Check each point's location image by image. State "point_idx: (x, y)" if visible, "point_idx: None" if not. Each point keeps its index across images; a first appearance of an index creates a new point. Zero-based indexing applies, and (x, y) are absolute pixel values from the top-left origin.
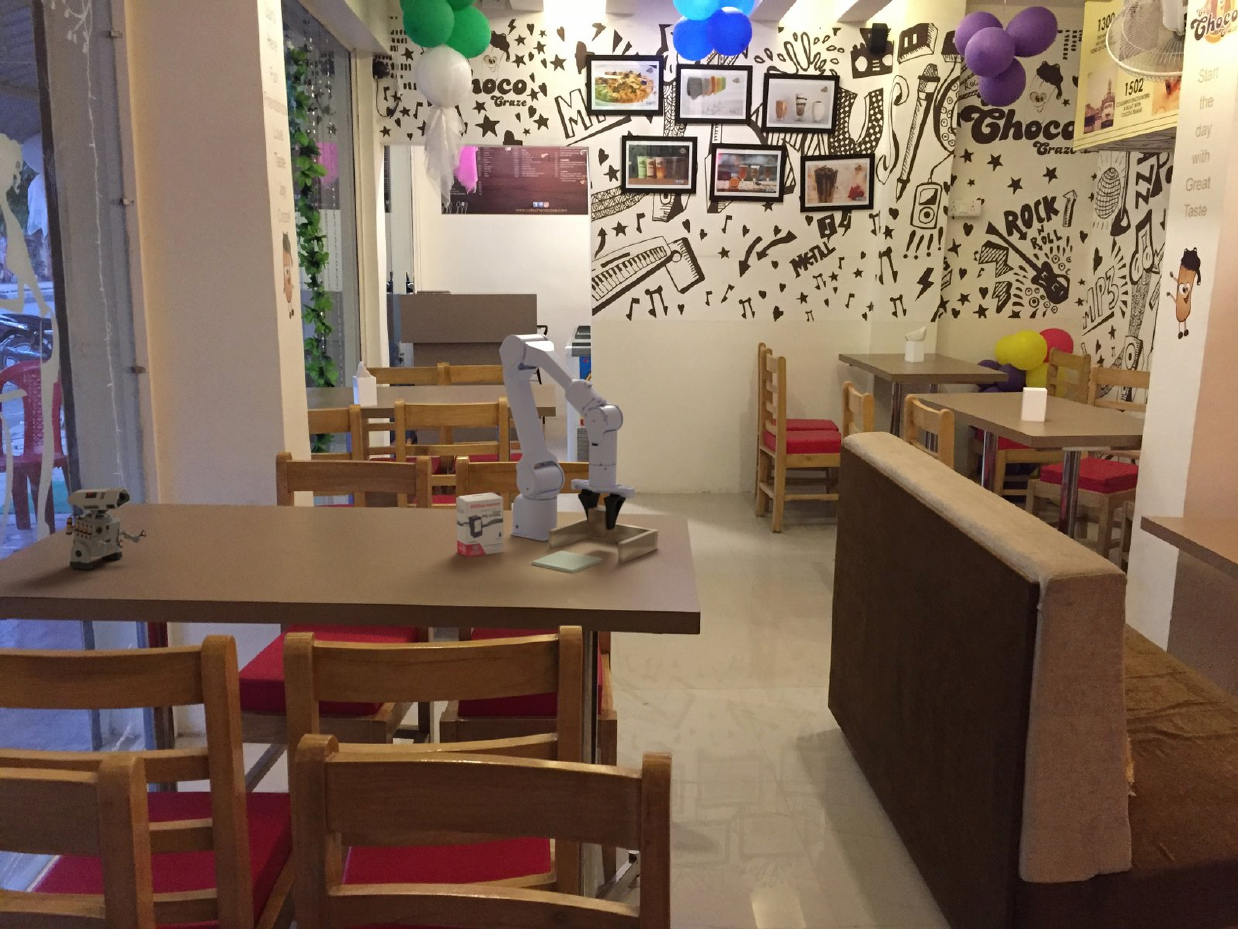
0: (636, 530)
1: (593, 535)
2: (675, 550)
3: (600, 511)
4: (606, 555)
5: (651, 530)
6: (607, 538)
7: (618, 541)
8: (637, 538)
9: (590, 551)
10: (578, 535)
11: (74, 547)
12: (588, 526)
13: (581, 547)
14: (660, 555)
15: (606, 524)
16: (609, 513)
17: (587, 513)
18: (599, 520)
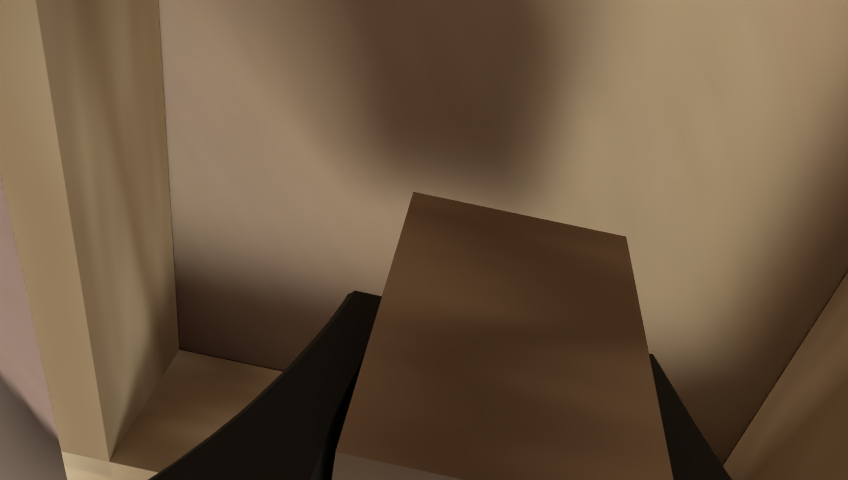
0: None
1: (553, 233)
2: (27, 364)
3: (425, 458)
4: (375, 63)
5: (97, 458)
6: None
7: None
8: (9, 201)
9: (571, 130)
10: (789, 415)
11: None
12: (636, 311)
13: (696, 218)
14: None
15: (372, 328)
16: (258, 425)
17: (694, 474)
18: (456, 346)
